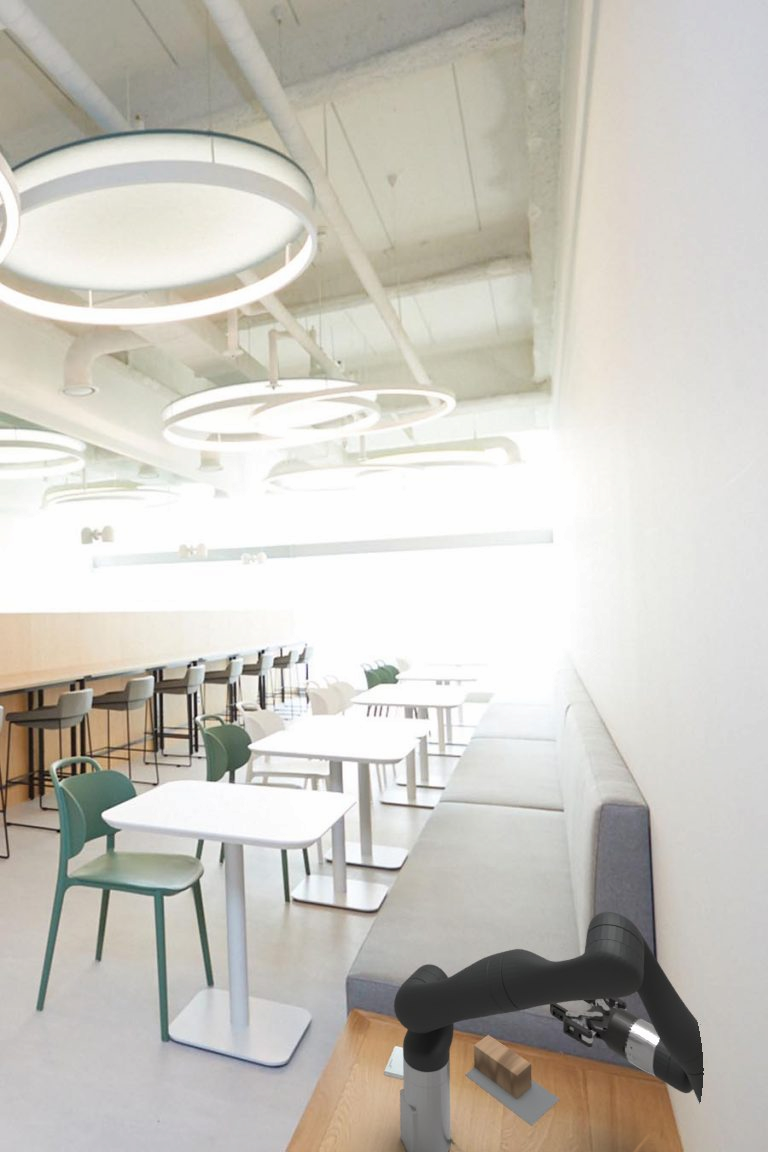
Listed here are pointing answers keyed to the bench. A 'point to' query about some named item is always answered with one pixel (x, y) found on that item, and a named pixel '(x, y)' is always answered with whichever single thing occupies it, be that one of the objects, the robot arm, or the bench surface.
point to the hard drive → (395, 1064)
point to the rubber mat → (526, 1105)
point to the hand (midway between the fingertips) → (563, 998)
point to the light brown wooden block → (502, 1066)
